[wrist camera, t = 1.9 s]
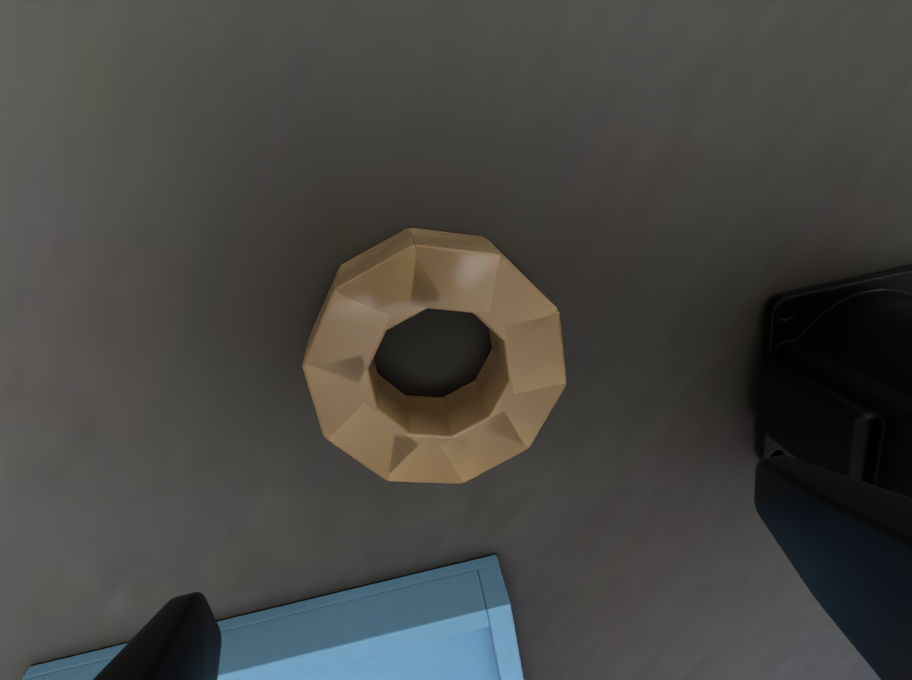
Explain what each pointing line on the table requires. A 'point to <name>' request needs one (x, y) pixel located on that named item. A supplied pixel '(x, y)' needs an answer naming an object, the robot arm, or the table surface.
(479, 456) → the wooden ring
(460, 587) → the tray
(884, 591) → the robot arm
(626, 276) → the table surface
